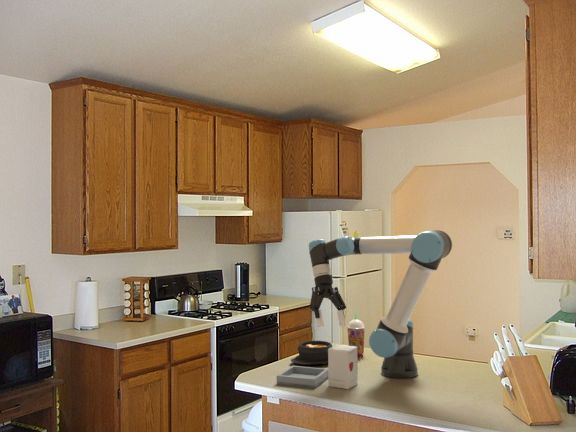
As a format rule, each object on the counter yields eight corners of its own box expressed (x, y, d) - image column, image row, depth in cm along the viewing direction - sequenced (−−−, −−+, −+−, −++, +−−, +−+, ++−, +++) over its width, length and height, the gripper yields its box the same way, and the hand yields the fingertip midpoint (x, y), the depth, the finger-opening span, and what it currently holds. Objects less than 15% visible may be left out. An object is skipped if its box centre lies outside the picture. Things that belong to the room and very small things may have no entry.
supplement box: (348, 389, 228) (347, 351, 228) (327, 386, 233) (327, 348, 233) (358, 383, 236) (358, 346, 236) (338, 380, 241) (337, 343, 241)
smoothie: (347, 357, 279) (346, 314, 279) (348, 353, 287) (347, 311, 287) (365, 357, 278) (364, 315, 277) (365, 353, 286) (365, 312, 286)
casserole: (310, 371, 256) (309, 351, 256) (281, 363, 270) (281, 345, 270) (349, 360, 273) (348, 342, 273) (320, 354, 287) (320, 336, 287)
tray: (329, 377, 246) (329, 369, 246) (315, 388, 231) (315, 379, 231) (292, 373, 252) (292, 365, 252) (276, 384, 237) (276, 375, 237)
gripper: (335, 279, 261) (344, 327, 255) (295, 277, 244) (304, 328, 237) (348, 275, 257) (358, 323, 250) (308, 272, 239) (317, 324, 233)
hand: (331, 326), depth 244 cm, fingers open, 13 cm apart
